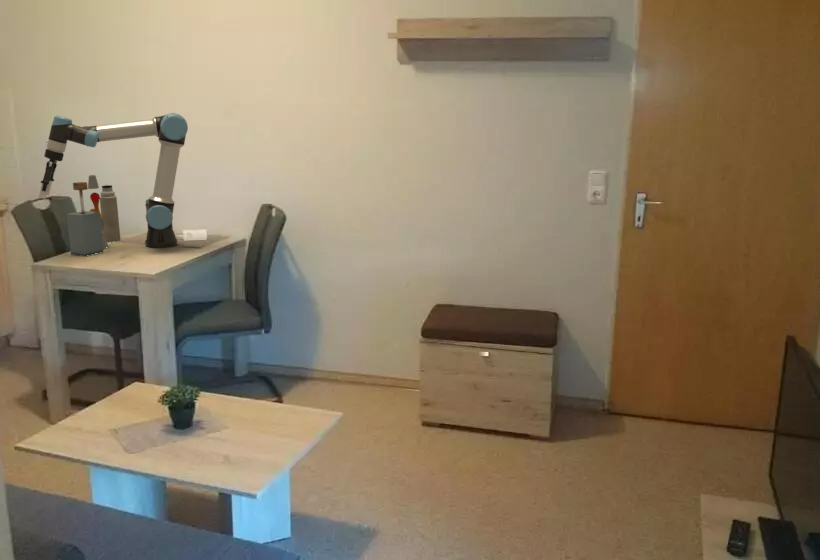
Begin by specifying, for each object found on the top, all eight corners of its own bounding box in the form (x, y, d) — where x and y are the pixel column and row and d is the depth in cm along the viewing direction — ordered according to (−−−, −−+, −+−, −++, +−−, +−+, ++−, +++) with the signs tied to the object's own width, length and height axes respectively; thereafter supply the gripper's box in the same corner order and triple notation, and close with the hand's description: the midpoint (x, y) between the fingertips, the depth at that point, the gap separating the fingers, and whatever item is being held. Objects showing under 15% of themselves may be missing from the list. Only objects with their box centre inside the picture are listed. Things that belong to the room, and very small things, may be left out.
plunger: (97, 228, 360) (92, 182, 355) (83, 231, 353) (78, 184, 348) (85, 227, 363) (81, 181, 358) (72, 229, 356) (67, 183, 351)
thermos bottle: (108, 238, 397) (103, 184, 391) (123, 239, 396) (118, 184, 390) (100, 241, 389) (95, 186, 383) (116, 242, 389) (110, 186, 382)
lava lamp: (113, 246, 378) (106, 174, 370) (102, 249, 369) (95, 176, 361) (96, 245, 380) (88, 174, 372) (85, 249, 371) (77, 176, 363)
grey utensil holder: (103, 252, 363) (99, 212, 358) (85, 256, 354) (81, 215, 350) (88, 250, 367) (84, 211, 363) (70, 254, 359) (66, 213, 354)
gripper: (49, 146, 354) (38, 190, 357) (42, 149, 331) (31, 197, 334) (66, 151, 357) (55, 195, 359) (61, 155, 334) (49, 202, 336)
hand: (43, 196), depth 347 cm, fingers open, 13 cm apart
